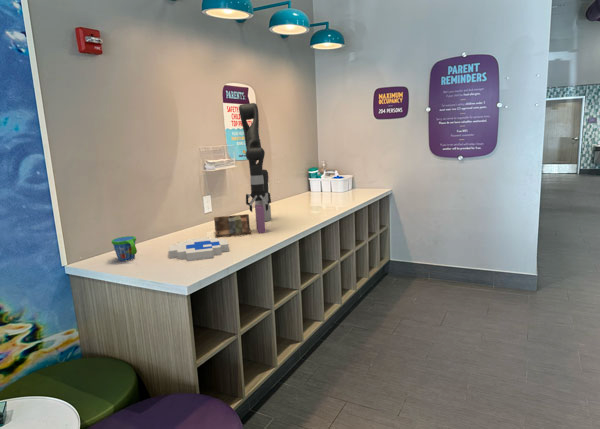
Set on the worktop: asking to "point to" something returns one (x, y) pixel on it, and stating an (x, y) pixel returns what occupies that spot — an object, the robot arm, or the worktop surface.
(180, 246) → the pixel art tile
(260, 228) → the plum book
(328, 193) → the worktop surface
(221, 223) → the camouflage pattern block
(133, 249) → the snack cup
